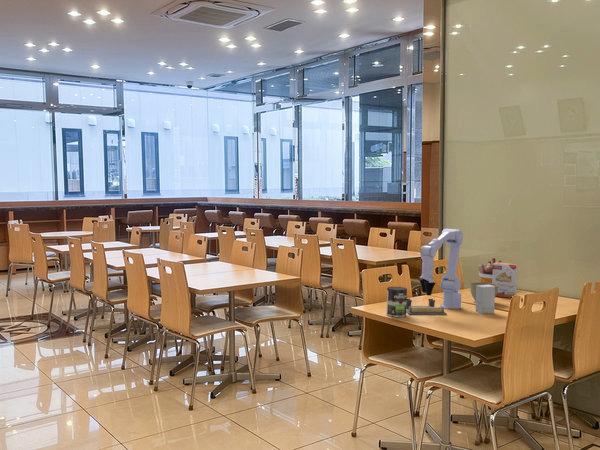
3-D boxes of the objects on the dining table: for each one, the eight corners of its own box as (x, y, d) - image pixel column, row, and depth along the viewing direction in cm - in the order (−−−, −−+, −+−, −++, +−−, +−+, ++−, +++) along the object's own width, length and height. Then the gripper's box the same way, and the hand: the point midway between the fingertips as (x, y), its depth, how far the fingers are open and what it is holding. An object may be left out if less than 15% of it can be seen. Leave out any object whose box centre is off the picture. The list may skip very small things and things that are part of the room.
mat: (442, 312, 305) (442, 310, 305) (446, 315, 298) (446, 313, 298) (405, 311, 303) (405, 310, 303) (409, 314, 296) (409, 313, 296)
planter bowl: (494, 300, 340) (494, 282, 340) (500, 306, 324) (501, 287, 324) (466, 299, 342) (467, 281, 341) (472, 305, 326) (472, 286, 325)
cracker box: (491, 296, 355) (492, 262, 354) (493, 294, 361) (494, 262, 359) (514, 298, 348) (516, 264, 347) (516, 297, 353) (518, 263, 352)
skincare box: (488, 311, 310) (489, 284, 309) (494, 313, 304) (495, 286, 303) (474, 311, 307) (475, 284, 307) (480, 314, 302) (482, 286, 301)
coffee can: (409, 316, 292) (410, 289, 291) (391, 317, 289) (392, 290, 288) (400, 312, 302) (401, 286, 301) (383, 313, 299) (383, 286, 298)
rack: (432, 307, 315) (433, 298, 315) (435, 309, 311) (435, 300, 311) (404, 307, 314) (404, 298, 314) (406, 309, 310) (406, 300, 310)
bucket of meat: (500, 291, 372) (502, 261, 371) (475, 289, 380) (476, 259, 379) (506, 287, 389) (507, 258, 388) (481, 285, 397) (482, 256, 396)
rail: (442, 311, 302) (442, 306, 302) (443, 312, 300) (443, 307, 300) (408, 311, 301) (408, 306, 301) (409, 312, 298) (410, 307, 298)
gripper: (416, 266, 306) (415, 291, 307) (424, 270, 292) (423, 296, 293) (429, 266, 307) (428, 291, 307) (437, 270, 292) (436, 296, 293)
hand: (426, 293), depth 300 cm, fingers open, 7 cm apart
